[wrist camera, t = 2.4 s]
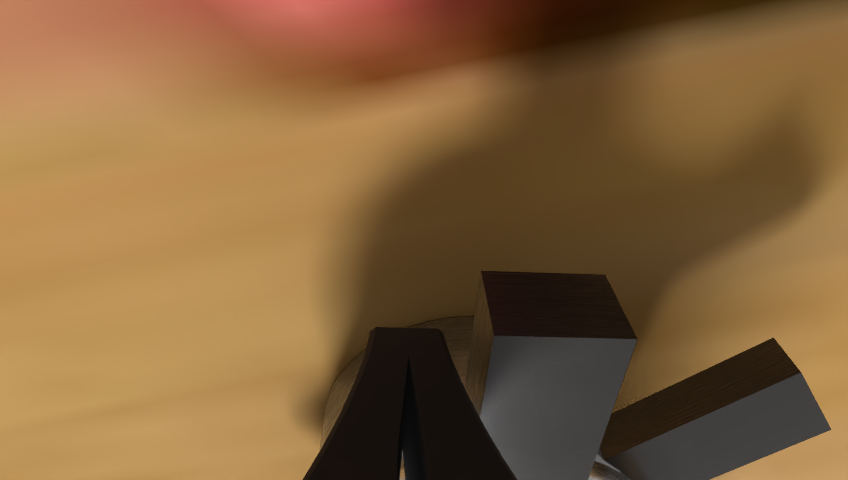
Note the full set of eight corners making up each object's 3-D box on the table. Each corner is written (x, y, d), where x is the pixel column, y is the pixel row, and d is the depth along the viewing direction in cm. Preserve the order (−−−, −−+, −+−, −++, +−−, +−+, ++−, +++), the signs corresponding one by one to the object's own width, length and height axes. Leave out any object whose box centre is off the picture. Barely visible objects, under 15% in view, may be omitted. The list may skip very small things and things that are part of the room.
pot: (392, 550, 25) (390, 678, 21) (221, 433, 21) (178, 568, 17) (778, 376, 20) (872, 503, 16) (662, 172, 16) (752, 277, 12)
